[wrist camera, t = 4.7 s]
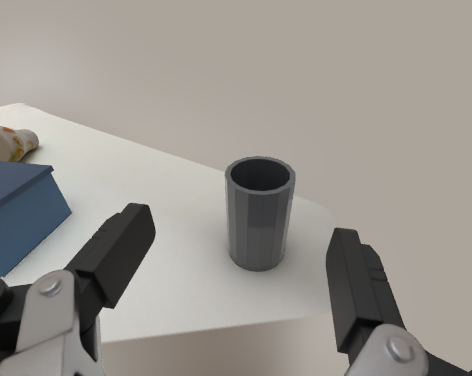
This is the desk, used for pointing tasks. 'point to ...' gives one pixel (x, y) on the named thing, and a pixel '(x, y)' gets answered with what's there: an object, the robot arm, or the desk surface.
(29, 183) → the container
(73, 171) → the desk surface
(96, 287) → the robot arm
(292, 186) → the cup
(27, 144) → the patterned salt shaker
